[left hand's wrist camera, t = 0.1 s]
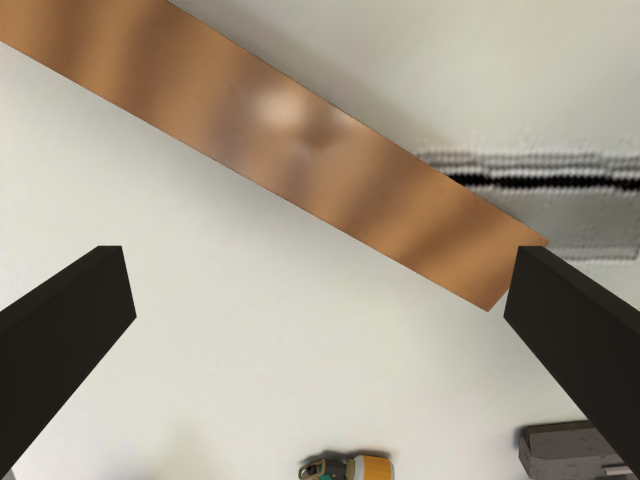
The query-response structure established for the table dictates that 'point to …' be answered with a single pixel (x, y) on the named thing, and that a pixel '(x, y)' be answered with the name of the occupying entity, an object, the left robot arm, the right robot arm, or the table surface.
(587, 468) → the toy
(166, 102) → the slab
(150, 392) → the table surface
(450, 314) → the table surface
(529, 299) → the left robot arm
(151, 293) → the table surface
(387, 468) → the spray gun
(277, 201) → the table surface
